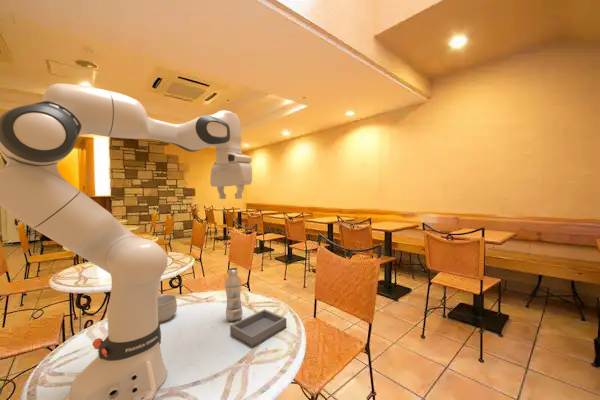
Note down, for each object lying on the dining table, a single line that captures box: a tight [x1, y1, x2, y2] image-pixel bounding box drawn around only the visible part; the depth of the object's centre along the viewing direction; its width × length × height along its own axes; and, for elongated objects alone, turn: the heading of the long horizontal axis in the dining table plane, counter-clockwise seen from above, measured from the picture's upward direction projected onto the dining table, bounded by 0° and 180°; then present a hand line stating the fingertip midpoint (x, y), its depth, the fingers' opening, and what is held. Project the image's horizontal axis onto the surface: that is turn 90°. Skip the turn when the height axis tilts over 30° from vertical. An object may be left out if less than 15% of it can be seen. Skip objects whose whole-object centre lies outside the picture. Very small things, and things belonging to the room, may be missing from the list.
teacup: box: [158, 293, 178, 323], centre depth 104 cm, size 14×11×8 cm
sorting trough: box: [229, 309, 287, 349], centre depth 92 cm, size 16×12×4 cm
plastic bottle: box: [224, 267, 243, 322], centre depth 101 cm, size 6×7×20 cm
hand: (230, 198), depth 90 cm, fingers open, 8 cm apart
